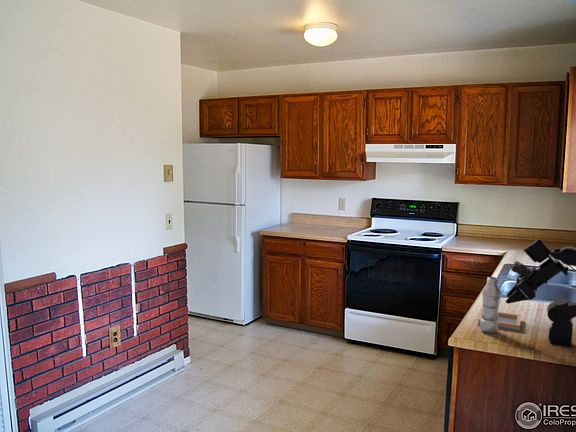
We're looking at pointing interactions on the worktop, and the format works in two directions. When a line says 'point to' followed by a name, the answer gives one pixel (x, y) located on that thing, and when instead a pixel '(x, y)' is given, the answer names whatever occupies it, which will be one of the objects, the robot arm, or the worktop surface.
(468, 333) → the worktop surface
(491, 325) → the silver tall hollow piece
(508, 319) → the tray
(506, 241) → the worktop surface
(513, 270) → the robot arm
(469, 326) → the worktop surface
